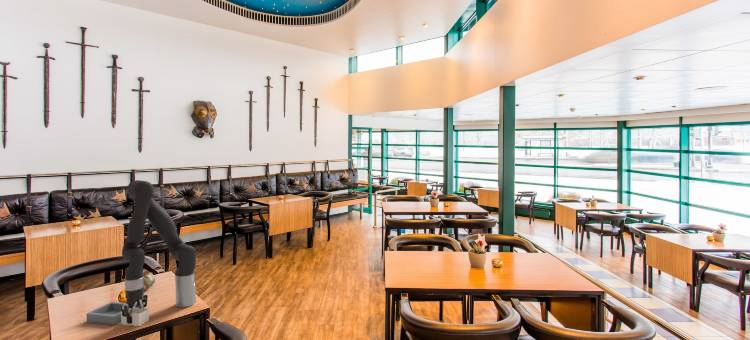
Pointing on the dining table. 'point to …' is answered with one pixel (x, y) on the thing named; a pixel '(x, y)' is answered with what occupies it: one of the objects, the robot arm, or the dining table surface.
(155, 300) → the dining table surface
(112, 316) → the tray
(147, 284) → the ceramic sculpture
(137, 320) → the cream crate
